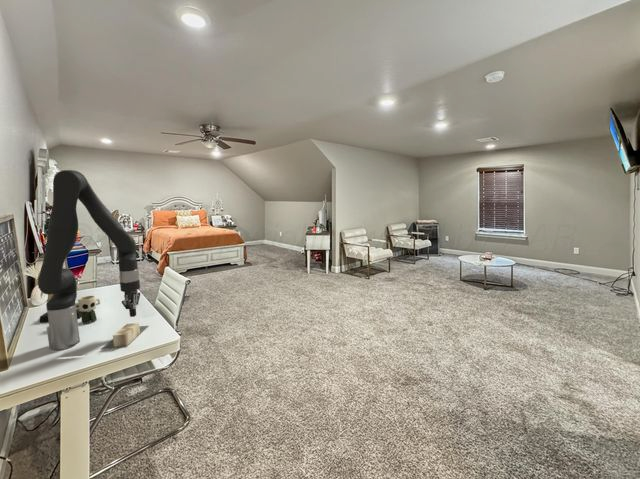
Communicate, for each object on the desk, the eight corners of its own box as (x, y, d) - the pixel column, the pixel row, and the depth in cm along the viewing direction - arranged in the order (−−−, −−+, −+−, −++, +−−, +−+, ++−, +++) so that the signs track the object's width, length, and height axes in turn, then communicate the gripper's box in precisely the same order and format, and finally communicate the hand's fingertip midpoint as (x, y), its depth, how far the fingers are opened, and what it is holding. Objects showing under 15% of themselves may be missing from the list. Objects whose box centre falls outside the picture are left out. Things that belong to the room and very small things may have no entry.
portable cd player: (56, 312, 168) (55, 305, 167) (92, 309, 173) (91, 302, 172) (39, 324, 152) (38, 316, 152) (79, 319, 157) (78, 312, 157)
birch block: (128, 334, 136) (114, 346, 125) (127, 323, 136) (112, 335, 124) (140, 333, 137) (126, 345, 125) (139, 323, 136) (125, 334, 125)
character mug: (77, 327, 147) (74, 301, 145) (74, 323, 151) (71, 299, 149) (104, 320, 155) (101, 296, 153) (99, 317, 160) (97, 293, 158)
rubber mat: (100, 351, 123) (100, 349, 123) (127, 328, 144) (127, 327, 144) (126, 349, 124) (126, 347, 124) (149, 327, 146) (149, 325, 146)
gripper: (127, 276, 140) (131, 311, 143) (112, 284, 127) (116, 322, 130) (144, 275, 141) (148, 310, 144) (131, 283, 128) (135, 321, 131)
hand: (133, 316), depth 137 cm, fingers closed
